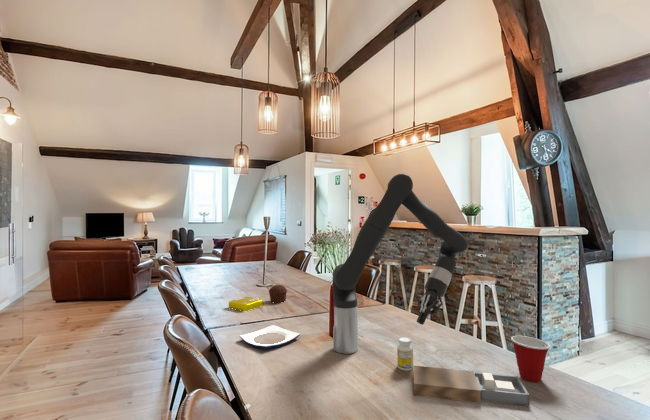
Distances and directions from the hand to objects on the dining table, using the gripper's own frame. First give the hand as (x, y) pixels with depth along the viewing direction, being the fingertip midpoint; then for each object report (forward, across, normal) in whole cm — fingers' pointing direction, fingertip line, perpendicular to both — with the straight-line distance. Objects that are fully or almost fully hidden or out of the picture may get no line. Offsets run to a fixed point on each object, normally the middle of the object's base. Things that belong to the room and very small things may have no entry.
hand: (419, 323), depth 124 cm
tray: (+9, +25, +17) cm, 32 cm away
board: (+16, +17, +6) cm, 24 cm away
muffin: (+16, -104, -29) cm, 109 cm away
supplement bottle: (+16, +1, +2) cm, 16 cm away
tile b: (+7, +27, +16) cm, 32 cm away
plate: (+34, -42, -35) cm, 64 cm away
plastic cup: (0, +21, +30) cm, 37 cm away
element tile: (+28, -99, -44) cm, 112 cm away
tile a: (+9, +24, +12) cm, 28 cm away
